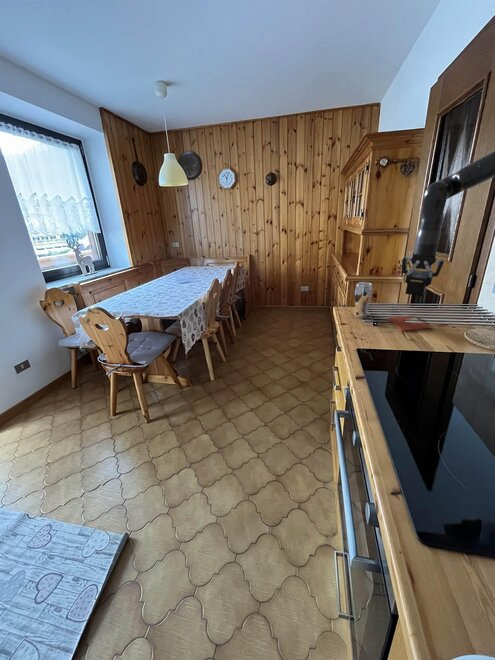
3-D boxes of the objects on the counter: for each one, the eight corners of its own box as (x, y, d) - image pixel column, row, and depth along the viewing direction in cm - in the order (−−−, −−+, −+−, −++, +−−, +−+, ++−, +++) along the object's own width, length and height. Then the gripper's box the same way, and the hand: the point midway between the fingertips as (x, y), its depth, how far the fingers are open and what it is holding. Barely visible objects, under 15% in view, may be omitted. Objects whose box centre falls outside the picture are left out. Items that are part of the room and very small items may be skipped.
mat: (414, 316, 126) (414, 315, 126) (431, 328, 116) (431, 327, 115) (387, 318, 126) (387, 317, 126) (402, 331, 115) (402, 330, 115)
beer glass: (365, 311, 134) (370, 281, 127) (370, 318, 127) (374, 286, 121) (350, 312, 134) (354, 281, 127) (354, 318, 128) (358, 287, 121)
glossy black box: (409, 286, 119) (413, 270, 115) (426, 288, 115) (430, 271, 112) (404, 294, 111) (408, 277, 108) (422, 296, 108) (426, 279, 105)
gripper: (450, 240, 103) (439, 284, 111) (407, 238, 111) (399, 279, 119) (449, 244, 98) (437, 290, 106) (403, 242, 106) (395, 285, 114)
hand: (417, 284), depth 112 cm, fingers closed on glossy black box, 6 cm apart
